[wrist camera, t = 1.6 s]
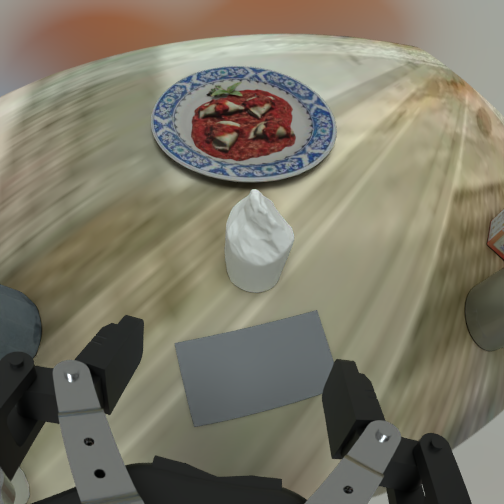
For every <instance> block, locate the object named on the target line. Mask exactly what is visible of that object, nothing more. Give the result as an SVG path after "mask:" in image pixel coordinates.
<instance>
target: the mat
mask: <svg viewBox="0 0 504 504" xmlns="http://www.w3.org/2000/svg"><path fill="white" fill-rule="evenodd" d="M175 348H176V352H177V357H178V362H179V366H180V371H181V375H182V380H183V384H184V388H185V392H186V396H187V400H188V404H189V408H190V412H191V416H192V420H193V424H194V427H196V426H202V425H207V424H212V423H217V422H221V421H226V420H230V419H235V418H239V417H243V416H247V415H251V414H255V413H259V412H263V411H266V410H270V409H274V408H277V407H281V406H284V405H288V404H291V403H294V402H298V401H301V400H304V399H307V398H310V397H313V396H316V395H319V394H322V393H323V389H324V386H325V383H326V381H327V379H328V376H329V374H330V372H331V369H332V367H333V364H334V361H333V358H332V355H331V352H330V349H329V346H328V343H327V339H326V336H325V333H324V330H323V327H322V324H321V321H320V318H319V315H318V312H317V310H316V311H312V312H308V313H305V314H301V315H297V316H293V317H289V318H285V319H282V320H278V321H274V322H269V323H265V324H261V325H257V326H253V327H249V328H244V329H240V330H236V331H231V332H227V333H222V334H217V335H213V336H208V337H203V338H198V339H193V340H188V341H183V342H178V343H175Z"/></svg>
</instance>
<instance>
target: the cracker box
mask: <svg viewBox="0 0 504 504" xmlns="http://www.w3.org/2000/svg"><path fill="white" fill-rule="evenodd" d="M487 245H488V246H489V247H490V248H492V249H493V250H494V251H495V252H496V253H497V254H498V255H499V256H500V257H502V258H503V259H504V209H503V210H502V211H501V212H500V213H499V214H498V215H497V216H496V217H495V218H494V219H493V220H492V221H491V223H490V230H489V236H488V242H487Z"/></svg>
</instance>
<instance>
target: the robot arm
mask: <svg viewBox="0 0 504 504" xmlns="http://www.w3.org/2000/svg"><path fill="white" fill-rule="evenodd" d="M465 314H466V322H467V325H468V329H469V331H470V333H471V336H472V337H473V339H474V341H475V342H476V343H477V344H478V345H479V346H480V347H481V348H483V349H484V350H487V351H494V350H497V349H500V348H503V347H504V268H502V269H501V270H499V271H498V272H496V273H495V274H493V275H491V276H490V277H488V278H487V279H485V280H484V281H482V282H481V283H479V284H478V285H476V286H475V287H473V288H472V289H471V291H470V292H469V294H468V297H467V300H466V306H465ZM143 332H144V321H143V319H139V318H136V317H132V316H128V315H125V316H124V317H123V318H122V319H121V321H120V322H119V323H118V324H114V323H111V324H109V325H107V326H105V327H102V328H101V330H100V331H99V332H98V333H97V334H96V336H94V338H93V339H92V340H91V342H89V343H88V345H87V346H86V347H85V348H84V349H83V350H82V352H81V353H80V354H79V355H78V356H77V357H76V359H75V360H66V361H62V362H60V363H58V364H57V365H56V366H55V367H54V368H46V367H40V366H35V365H34V361H33V359H32V357H31V356H30V355H29V354H27V353H24V352H19V351H17V352H11V353H9V354H7V355H5V356H4V357H3V358H2V359H1V360H0V504H14V501H15V497H16V492H15V488H14V486H13V484H12V483H11V481H12V479H13V477H14V475H15V473H16V471H17V470H18V468H19V466H20V464H21V462H22V461H23V459H24V457H25V455H26V454H27V452H28V450H29V449H30V447H31V445H32V443H33V442H34V440H35V438H36V437H37V435H38V433H39V432H40V430H41V428H42V427H43V425H44V423H45V422H51V423H58V424H60V427H61V432H62V437H63V441H64V445H65V449H66V453H67V457H68V461H69V465H70V468H71V472H72V475H73V478H74V482H75V485H76V487H74V488H71V489H69V490H66V491H64V492H61V493H59V494H56V495H53V496H51V497H48V498H45V499H43V500H40V501H37V502H34V503H31V504H367V503H368V502H369V501H370V499H371V497H372V496H373V494H374V492H375V491H376V489H377V488H378V486H382V487H386V489H387V494H388V500H389V504H472V503H471V500H470V497H469V495H468V492H467V489H466V486H465V484H464V481H463V478H462V476H461V473H460V470H459V468H458V465H457V463H456V460H455V458H454V455H453V453H452V450H451V448H450V445H449V443H448V442H447V441H446V439H444V438H443V437H442V436H440V435H438V434H434V433H428V434H425V435H423V436H422V438H421V439H420V440H419V441H415V440H411V439H407V438H403V437H401V434H400V432H399V430H398V429H397V428H396V427H395V426H394V425H393V424H391V423H389V422H386V421H385V418H384V416H383V413H382V410H381V407H380V405H379V402H378V399H376V398H377V397H376V394H375V392H374V389H373V386H372V383H371V381H370V380H369V379H368V378H367V377H366V376H365V375H364V374H361V373H359V372H358V369H357V366H356V363H355V362H354V361H349V360H341V359H337V360H336V361H335V362H334V364H333V367H332V369H331V372H330V374H329V376H328V379H327V381H326V383H325V386H324V389H323V393H322V402H323V408H324V413H325V419H326V425H327V431H328V438H329V444H330V450H331V457H332V459H342V460H341V462H340V463H339V464H338V465H337V467H336V468H335V469H334V470H333V471H332V473H331V474H330V475H329V476H328V478H327V479H326V480H325V481H324V482H323V483H322V485H321V486H320V487H319V488H318V489H317V490H316V491H315V493H314V494H313V495H312V496H311V497H310V498H309V499H308V500H306V499H305V498H303V497H302V496H300V495H299V494H297V493H295V492H293V491H291V490H288V489H286V488H282V479H277V478H267V477H258V476H232V477H217V476H214V475H211V474H209V473H206V472H204V471H202V470H199V469H197V468H195V467H193V466H190V465H188V464H186V463H182V462H178V461H174V460H170V459H166V458H163V457H159V456H155V457H154V460H153V463H135V464H129V465H124V462H123V460H122V458H121V455H120V453H119V450H118V448H117V445H116V443H115V440H114V437H113V435H112V432H111V429H110V427H109V424H108V421H107V418H106V415H105V414H108V415H111V413H112V411H113V409H114V407H115V406H116V404H117V402H118V400H119V398H120V397H121V395H122V393H123V391H124V390H125V388H126V386H127V384H128V383H129V381H130V379H131V377H132V376H133V374H134V372H135V370H136V369H137V367H138V365H139V363H140V361H141V358H142V354H143ZM422 485H423V488H424V492H425V496H424V492H423V488H422Z"/></svg>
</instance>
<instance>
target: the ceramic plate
mask: <svg viewBox="0 0 504 504" xmlns="http://www.w3.org/2000/svg"><path fill="white" fill-rule="evenodd" d="M151 127H152V132H153V135H154V137H155V139H156V141H157V143H158V145H159V146H160V147H161V149H162V150H163V151H164V152H165V153H166V154H167V155H168V156H169V157H171V158H172V159H173V160H174V161H176V162H177V163H179V164H180V165H182V166H184V167H186V168H188V169H190V170H192V171H195V172H197V173H199V174H203V175H206V176H209V177H213V178H217V179H222V180H228V181H234V182H267V181H276V180H281V179H285V178H289V177H292V176H296V175H299V174H301V173H303V172H305V171H307V170H309V169H311V168H313V167H314V166H316V165H317V164H319V163H320V162H321V161H322V160H323V159H324V158H325V157H326V156H327V155H328V153H329V152H330V151H331V149H332V147H333V145H334V143H335V139H336V133H337V130H336V122H335V119H334V116H333V114H332V112H331V110H330V108H329V107H328V105H327V104H326V102H325V101H324V100H323V99H322V98H321V97H320V96H319V95H318V94H317V93H316V92H315V91H313V90H312V89H311V88H310V87H308V86H307V85H305V84H303V83H301V82H300V81H298V80H296V79H294V78H292V77H290V76H287V75H284V74H281V73H278V72H275V71H272V70H268V69H262V68H256V67H245V66H229V67H220V68H214V69H209V70H204V71H201V72H197V73H194V74H192V75H190V76H188V77H186V78H183V79H182V80H180V81H178V82H176V83H175V84H173V85H172V86H171V87H170V88H168V89H167V90H166V91H165V92H164V93H163V94H162V95H161V97H160V98H159V99H158V101H157V102H156V104H155V106H154V109H153V112H152V117H151Z"/></svg>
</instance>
